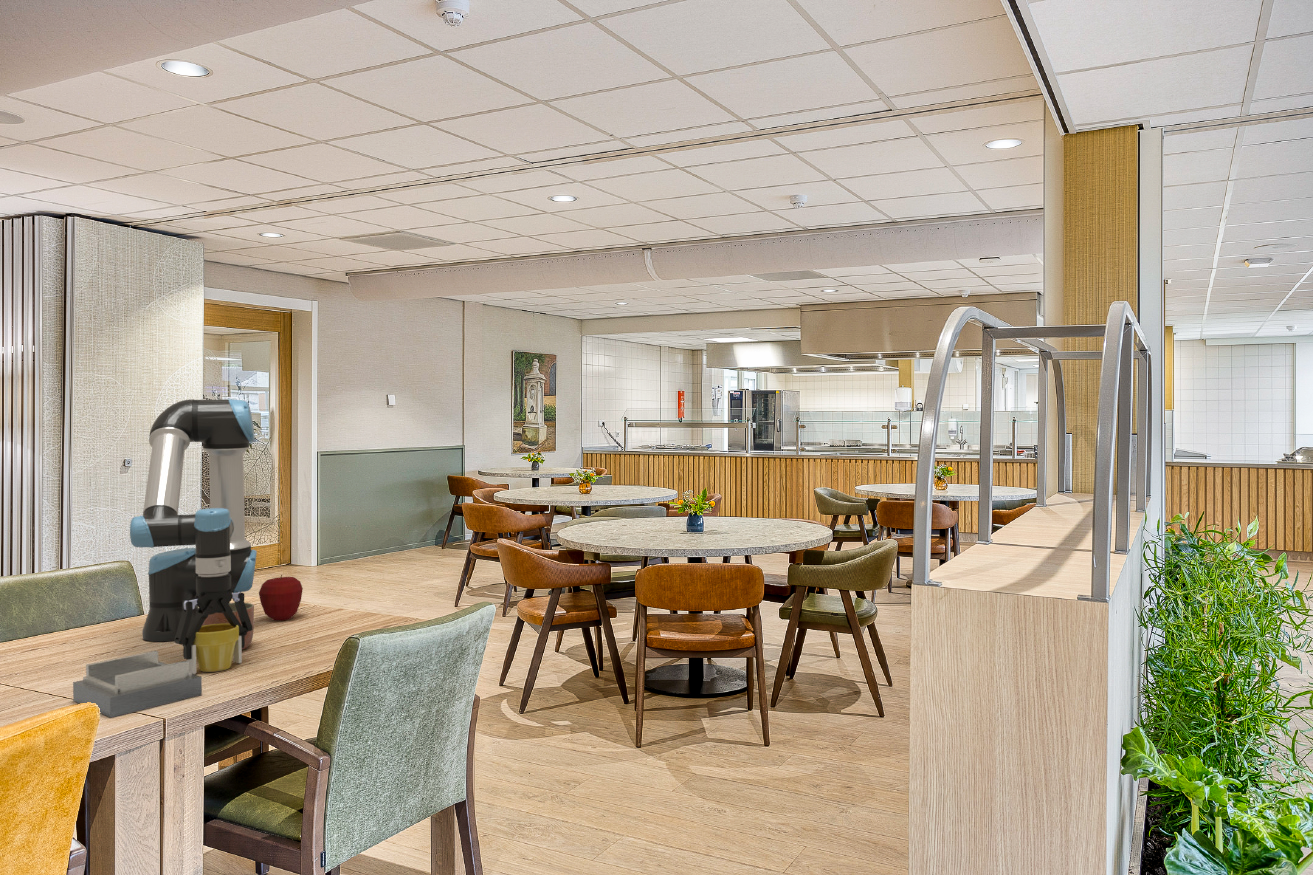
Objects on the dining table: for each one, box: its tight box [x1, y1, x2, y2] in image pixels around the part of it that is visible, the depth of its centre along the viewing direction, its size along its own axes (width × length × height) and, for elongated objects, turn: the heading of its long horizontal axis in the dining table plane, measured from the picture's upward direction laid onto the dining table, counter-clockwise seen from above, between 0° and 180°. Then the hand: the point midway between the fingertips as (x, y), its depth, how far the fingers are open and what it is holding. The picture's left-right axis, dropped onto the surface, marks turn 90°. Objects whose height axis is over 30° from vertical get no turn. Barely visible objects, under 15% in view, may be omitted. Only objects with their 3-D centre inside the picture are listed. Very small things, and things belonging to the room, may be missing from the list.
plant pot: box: [193, 623, 239, 673], centre depth 212 cm, size 10×10×10 cm
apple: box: [258, 574, 304, 622], centre depth 264 cm, size 12×12×13 cm
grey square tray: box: [72, 650, 203, 719], centre depth 190 cm, size 19×18×8 cm
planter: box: [202, 602, 255, 651], centre depth 230 cm, size 12×12×11 cm
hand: (215, 667), depth 212 cm, fingers closed on plant pot, 10 cm apart
